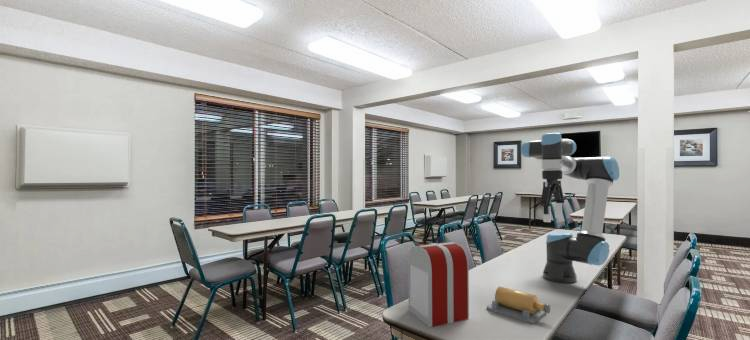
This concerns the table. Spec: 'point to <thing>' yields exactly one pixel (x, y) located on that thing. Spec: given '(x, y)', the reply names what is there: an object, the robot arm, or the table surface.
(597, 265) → the robot arm
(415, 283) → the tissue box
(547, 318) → the table surface
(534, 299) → the amber bottle
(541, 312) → the u rest
